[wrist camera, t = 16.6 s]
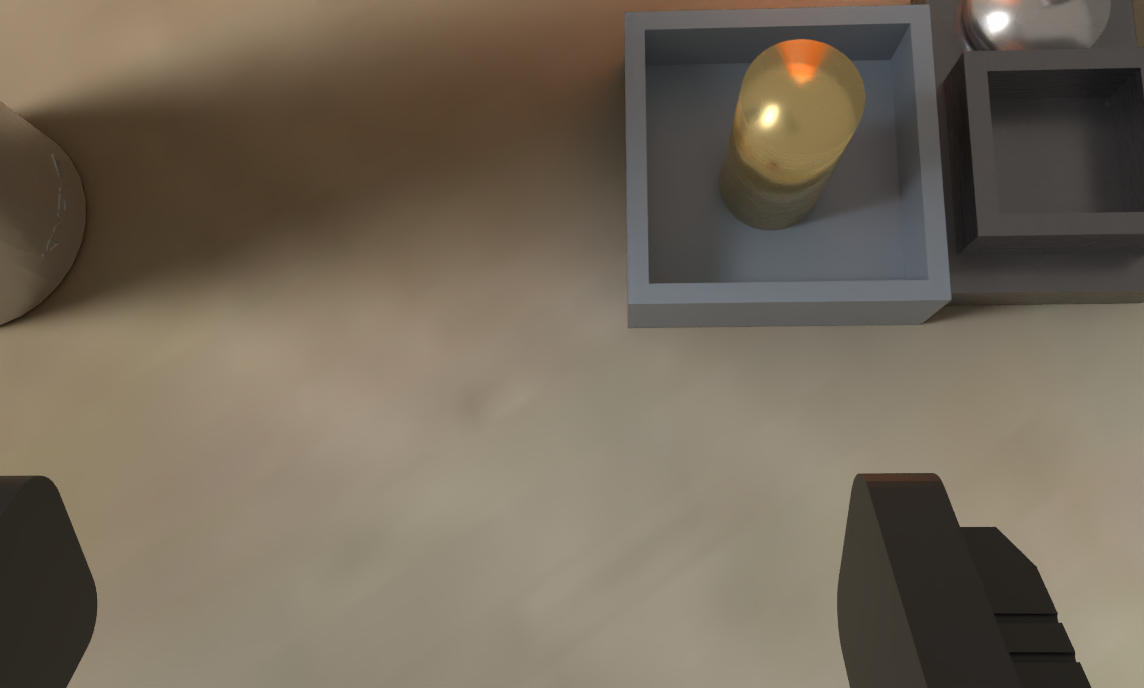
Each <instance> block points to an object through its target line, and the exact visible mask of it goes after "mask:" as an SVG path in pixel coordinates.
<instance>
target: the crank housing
mask: <svg viewBox="0 0 1144 688" xmlns="http://www.w3.org/2000/svg"><path fill="white" fill-rule="evenodd" d="M925 4H929V6H930V20H931V33H932V46H933V60H934V73H935V87H936V100H937V113H938V127H939V140H940V153H941V167H942V180H943V194H944V207H945V220H946V234H947V247H948V260H949V274H950V287H951V301H950V302H948V303H947V304H946V305H945V306H952V305H1032V304H1112V303H1142V302H1144V47H1137V39H1136V31H1135V22H1134V14H1133V5H1132V0H911V5H925Z"/></svg>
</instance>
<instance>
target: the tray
mask: <svg viewBox="0 0 1144 688" xmlns="http://www.w3.org/2000/svg"><path fill="white" fill-rule="evenodd" d="M796 39H808V40H815V41H819V42H822V43H825V44H828V45H830V46H832V47H834V48H836V49H838V50H839V51H840V52H842V53H843V54H844V55H845V56H847V57H848V58H849V59H850V60H851V62H852V63H853V64H854V65H855V67H856V68H857V70H858V72H859V74H860V76H861V78H862V81H863V84H864V89H865V107H864V112H863V115H862V118H861V120H860V122H859V124H858V126H857V128H856V130H855V132H854V134H853V136H852V137H851V139H850V141H849V143H848V145H847V147H846V149H845V151H844V152H843V154H842V156H841V158H840V160H839V162H838V164H837V166H836V167H835V169H834V171H833V173H832V175H831V177H830V179H829V181H828V182H827V184H826V186H825V188H824V190H823V192H822V194H821V196H820V197H819V199H818V201H817V203H816V205H815V207H814V208H813V210H812V211H811V212H810V213H809V215H808V216H807V217H806V218H804V219H803V220H802V221H801V222H799V223H798V224H796V225H794V226H792V227H789V228H786V229H782V230H774V231H768V230H760V229H756V228H753V227H750V226H748V225H746V224H744V223H743V222H741V221H740V220H738V219H737V218H736V217H735V216H734V215H733V214H732V213H731V212H730V211H729V210H728V208H727V207H726V205H725V203H724V201H723V199H722V196H721V192H720V186H719V177H720V171H721V167H722V163H723V159H724V155H725V151H726V147H727V143H728V139H729V135H730V130H731V126H732V122H733V118H734V114H735V110H736V106H737V102H738V98H739V94H740V90H741V86H742V82H743V79H744V76H745V74H746V72H747V70H748V68H749V66H750V65H751V63H752V62H753V61H754V60H755V59H756V58H757V57H758V56H759V55H760V54H761V53H762V52H764V51H765V50H767V49H768V48H770V47H772V46H774V45H776V44H778V43H781V42H784V41H789V40H796ZM625 127H626V209H627V291H628V328H662V327H748V326H833V325H918V324H922V323H923V322H925V321H926V320H927V319H928V318H930V317H931V316H932V315H933V314H935V313H936V312H937V311H938V310H940V309H941V308H942V307H943V306H945V305H946V304H947V303H948V302H950V301H951V287H950V274H949V260H948V247H947V234H946V220H945V207H944V194H943V180H942V167H941V153H940V140H939V127H938V113H937V100H936V87H935V73H934V60H933V46H932V33H931V20H930V6H929V4H925V5H886V6H846V7H807V8H768V9H729V10H689V11H650V12H625Z"/></svg>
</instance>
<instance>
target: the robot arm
mask: <svg viewBox="0 0 1144 688" xmlns="http://www.w3.org/2000/svg"><path fill="white" fill-rule="evenodd" d="M85 224H86V199H85V195H84V191H83V186H82V182H81V178H80V176H79V174H78V172H77V171H76V169H75V167H74V165H73V163H72V161H71V159H70V158H69V157H68V156H67V155H66V153H65V152H64V151H63V150H62V149H61V148H60V146H59V145H58V144H57V143H55V142H54V141H53V140H51V139H50V138H49V137H47V136H46V135H45V134H43V133H42V132H41V131H39V130H38V129H37V128H35V127H34V126H33V125H31V124H30V123H29V122H27V121H26V120H25V119H23V118H22V117H21V116H19V115H18V114H17V113H15V112H14V111H13V110H11V109H10V108H9V107H7V106H6V105H5V104H4V103H2V102H1V101H0V325H2V324H4V323H6V322H9V321H11V320H13V319H16V318H18V317H20V316H22V315H24V314H25V313H27V312H28V311H30V310H31V309H32V308H34V307H35V306H37V305H38V304H40V303H41V302H42V301H43V300H44V299H45V298H46V297H47V296H48V295H49V294H50V293H51V292H52V291H53V290H54V289H55V288H56V287H57V286H58V285H59V284H60V283H61V281H62V280H63V278H64V277H65V275H66V274H67V272H68V271H69V269H70V268H71V266H72V265H73V262H74V260H75V258H76V255H77V253H78V251H79V248H80V246H81V243H82V238H83V233H84V228H85ZM837 614H838V628H839V637H840V643H841V649H842V653H843V658H844V662H845V667H846V671H847V676H848V680H849V685H850V688H1091V686H1090V684H1089V681H1088V679H1087V677H1086V675H1085V673H1084V670H1083V668H1082V666H1081V664H1080V662H1076V660H1075V651H1074V648H1073V646H1072V644H1071V642H1070V640H1069V637H1068V635H1067V633H1066V631H1065V629H1064V626H1063V624H1062V623H1059V622H1058V619H1057V614H1058V613H1057V611H1056V609H1055V607H1054V604H1053V602H1052V600H1051V598H1050V596H1049V593H1048V591H1047V589H1046V587H1045V585H1044V582H1043V580H1042V578H1041V576H1040V574H1039V571H1038V569H1037V567H1036V566H1035V565H1034V564H1033V563H1032V562H1031V561H1030V560H1029V559H1028V558H1027V557H1026V556H1025V555H1024V554H1023V553H1022V552H1021V551H1020V550H1019V549H1018V548H1017V547H1016V546H1015V545H1014V544H1013V543H1012V542H1011V541H1010V540H1009V539H1008V538H1007V537H1006V536H1005V535H1003V534H1002V533H1001V532H1000V531H999V530H998V529H997V528H996V527H960V526H959V524H958V521H957V518H956V516H955V513H954V511H953V508H952V506H951V503H950V500H949V498H948V495H947V493H946V490H945V488H944V485H943V483H942V481H941V479H940V478H939V476H938V475H936V474H934V473H883V474H857V475H856V477H855V479H854V482H853V485H852V491H851V497H850V504H849V511H848V518H847V525H846V532H845V539H844V546H843V553H842V560H841V567H840V574H839V581H838V592H837ZM96 616H97V592H96V587H95V583H94V580H93V577H92V574H91V572H90V569H89V567H88V564H87V562H86V559H85V557H84V554H83V552H82V549H81V547H80V544H79V541H78V539H77V536H76V534H75V531H74V529H73V526H72V524H71V521H70V519H69V516H68V514H67V511H66V509H65V506H64V503H63V501H62V498H61V496H60V493H59V491H58V489H57V487H56V486H55V484H54V483H53V482H52V481H51V480H50V479H49V478H47V477H45V476H0V688H66V687H67V685H68V683H69V682H70V680H71V678H72V676H73V674H74V672H75V670H76V668H77V666H78V664H79V662H80V660H81V659H82V657H83V655H84V653H85V651H86V649H87V647H88V645H89V643H90V640H91V637H92V634H93V631H94V627H95V622H96Z"/></svg>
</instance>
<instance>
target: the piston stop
mask: <svg viewBox="0 0 1144 688" xmlns="http://www.w3.org/2000/svg"><path fill="white" fill-rule="evenodd" d="M864 107H865V89H864V84H863V81H862V78H861V76H860V74H859V72H858V70H857V68H856V67H855V65H854V64H853V63H852V62H851V60H850V59H849V58H848V57H847V56H845V55H844V54H843V53H842V52H840V51H839V50H838V49H836V48H834V47H832V46H830V45H828V44H825V43H822V42H819V41H815V40H808V39H796V40H789V41H784V42H781V43H778V44H776V45H774V46H772V47H770V48H768V49H767V50H765V51H764V52H762V53H761V54H760V55H759V56H758V57H757V58H756V59H755V60H754V61H753V62H752V63H751V65H750V66H749V68H748V70H747V72H746V74H745V76H744V79H743V82H742V86H741V90H740V94H739V98H738V102H737V106H736V110H735V114H734V118H733V122H732V126H731V130H730V135H729V139H728V143H727V147H726V151H725V155H724V159H723V163H722V167H721V171H720V177H719V186H720V192H721V196H722V199H723V201H724V203H725V205H726V207H727V208H728V210H729V211H730V212H731V213H732V214H733V215H734V216H735V217H736V218H737V219H738V220H740V221H741V222H743V223H744V224H746V225H748V226H750V227H753V228H756V229H760V230H768V231H774V230H782V229H786V228H789V227H792V226H794V225H796V224H798V223H799V222H801V221H802V220H803V219H804V218H806V217H807V216H808V215H809V213H810V212H811V211H812V210H813V208H814V207H815V205H816V203H817V201H818V199H819V197H820V196H821V194H822V192H823V190H824V188H825V186H826V184H827V182H828V181H829V179H830V177H831V175H832V173H833V171H834V169H835V167H836V166H837V164H838V162H839V160H840V158H841V156H842V154H843V152H844V151H845V149H846V147H847V145H848V143H849V141H850V139H851V137H852V136H853V134H854V132H855V130H856V128H857V126H858V124H859V122H860V120H861V118H862V115H863V112H864Z"/></svg>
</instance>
